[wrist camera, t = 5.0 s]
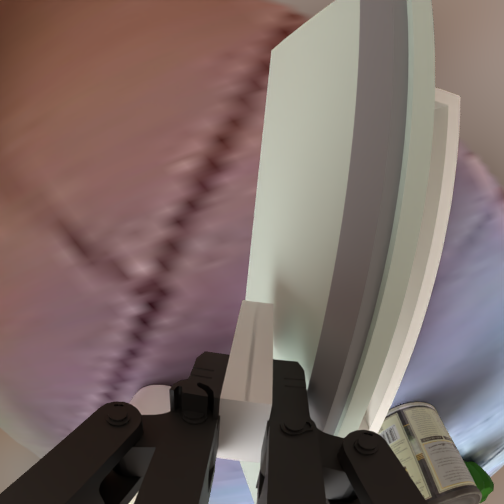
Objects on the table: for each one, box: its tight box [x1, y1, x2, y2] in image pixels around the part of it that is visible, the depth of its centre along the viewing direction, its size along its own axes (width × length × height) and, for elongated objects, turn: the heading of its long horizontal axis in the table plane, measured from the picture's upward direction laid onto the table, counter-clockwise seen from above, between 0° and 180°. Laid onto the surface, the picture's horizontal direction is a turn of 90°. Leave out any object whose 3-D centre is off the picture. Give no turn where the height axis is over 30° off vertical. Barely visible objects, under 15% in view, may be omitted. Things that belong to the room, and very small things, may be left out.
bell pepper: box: [464, 461, 494, 503], centre depth 29 cm, size 8×8×10 cm
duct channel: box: [358, 87, 461, 434], centre depth 23 cm, size 12×28×6 cm, turn 174°
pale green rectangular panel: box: [240, 0, 435, 504], centre depth 14 cm, size 12×28×1 cm
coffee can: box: [378, 402, 482, 504], centre depth 24 cm, size 10×10×14 cm
